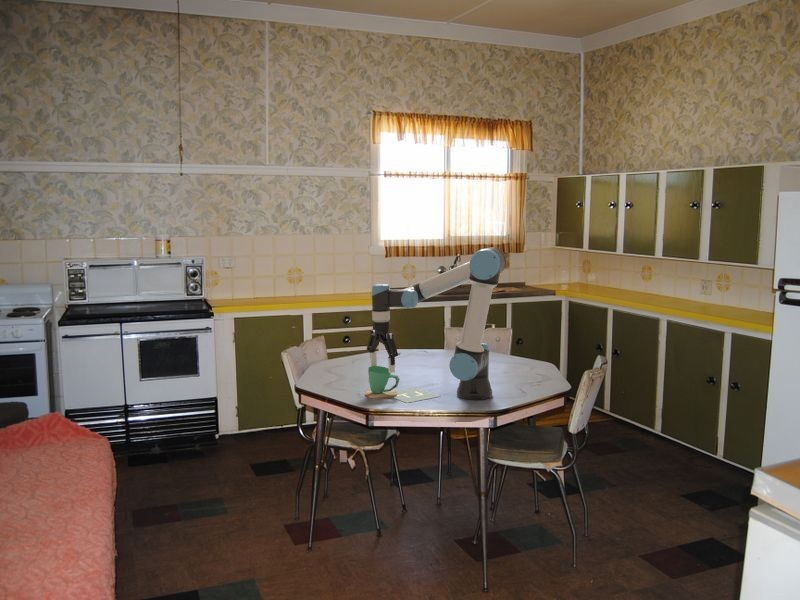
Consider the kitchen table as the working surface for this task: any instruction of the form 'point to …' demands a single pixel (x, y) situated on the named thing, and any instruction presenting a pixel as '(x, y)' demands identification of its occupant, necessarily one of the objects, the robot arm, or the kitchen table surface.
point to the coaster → (381, 394)
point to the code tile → (414, 395)
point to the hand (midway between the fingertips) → (382, 369)
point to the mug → (380, 379)
